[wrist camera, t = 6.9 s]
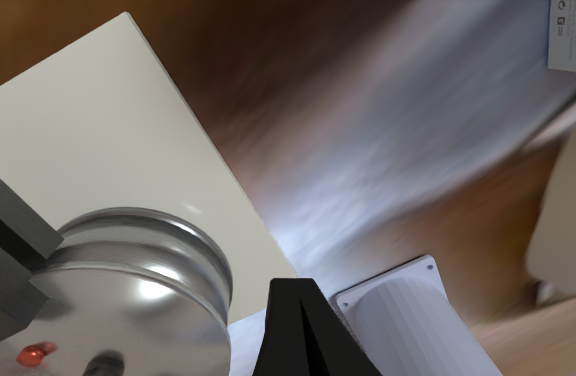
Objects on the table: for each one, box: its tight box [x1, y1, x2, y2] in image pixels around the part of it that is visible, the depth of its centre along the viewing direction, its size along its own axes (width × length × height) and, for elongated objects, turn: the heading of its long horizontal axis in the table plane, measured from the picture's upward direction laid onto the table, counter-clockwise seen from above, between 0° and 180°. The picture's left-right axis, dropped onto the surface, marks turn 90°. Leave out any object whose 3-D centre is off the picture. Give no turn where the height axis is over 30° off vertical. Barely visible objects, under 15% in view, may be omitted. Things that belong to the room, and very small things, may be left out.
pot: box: [0, 179, 233, 327], centre depth 18 cm, size 22×12×5 cm, turn 26°
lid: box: [0, 248, 231, 376], centre depth 15 cm, size 21×13×2 cm, turn 27°
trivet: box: [0, 12, 299, 325], centre depth 20 cm, size 20×17×1 cm
